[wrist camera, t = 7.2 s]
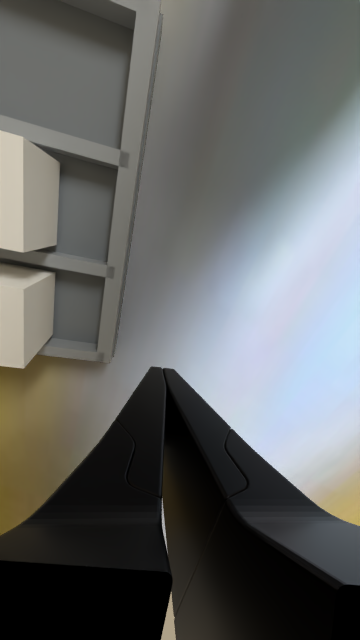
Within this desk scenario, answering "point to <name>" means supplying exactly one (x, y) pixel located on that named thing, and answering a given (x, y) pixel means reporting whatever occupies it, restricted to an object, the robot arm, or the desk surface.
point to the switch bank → (83, 147)
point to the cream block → (24, 313)
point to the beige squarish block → (27, 195)
